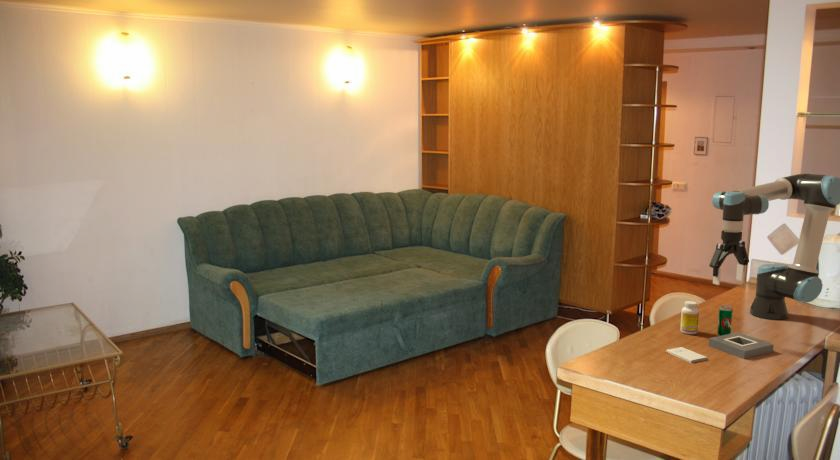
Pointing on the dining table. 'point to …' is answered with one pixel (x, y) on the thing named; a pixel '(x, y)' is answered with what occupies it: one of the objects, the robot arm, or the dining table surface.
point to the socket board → (741, 345)
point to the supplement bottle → (689, 318)
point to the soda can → (724, 320)
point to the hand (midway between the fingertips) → (728, 282)
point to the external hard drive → (686, 354)
